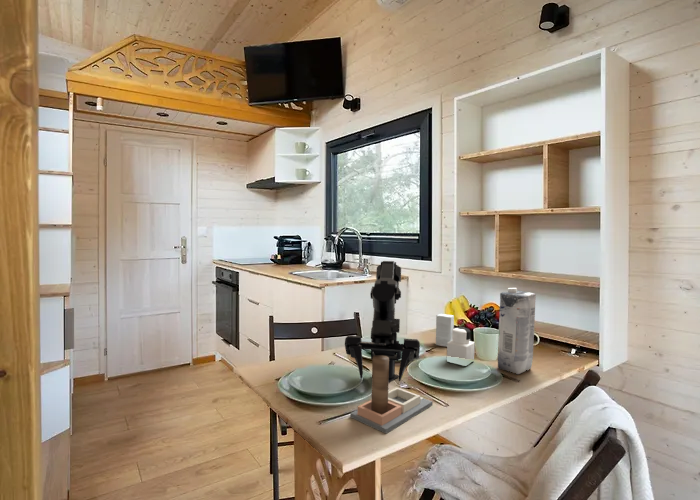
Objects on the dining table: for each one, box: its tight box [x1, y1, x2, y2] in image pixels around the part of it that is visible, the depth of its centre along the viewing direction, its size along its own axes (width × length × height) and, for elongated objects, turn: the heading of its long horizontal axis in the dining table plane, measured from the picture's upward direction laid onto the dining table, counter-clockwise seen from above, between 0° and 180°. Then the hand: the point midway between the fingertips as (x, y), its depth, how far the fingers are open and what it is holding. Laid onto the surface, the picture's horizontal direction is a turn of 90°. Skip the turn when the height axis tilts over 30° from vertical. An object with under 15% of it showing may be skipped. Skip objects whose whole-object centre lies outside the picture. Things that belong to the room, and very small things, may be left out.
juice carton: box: [497, 287, 537, 375], centre depth 132 cm, size 9×10×27 cm
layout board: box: [350, 386, 434, 434], centre depth 101 cm, size 20×11×3 cm, turn 137°
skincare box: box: [435, 313, 455, 348], centre depth 158 cm, size 6×4×12 cm
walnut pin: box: [370, 355, 389, 415], centre depth 97 cm, size 4×4×14 cm
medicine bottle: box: [446, 326, 475, 361], centre depth 138 cm, size 7×7×12 cm
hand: (380, 379), depth 96 cm, fingers open, 9 cm apart
